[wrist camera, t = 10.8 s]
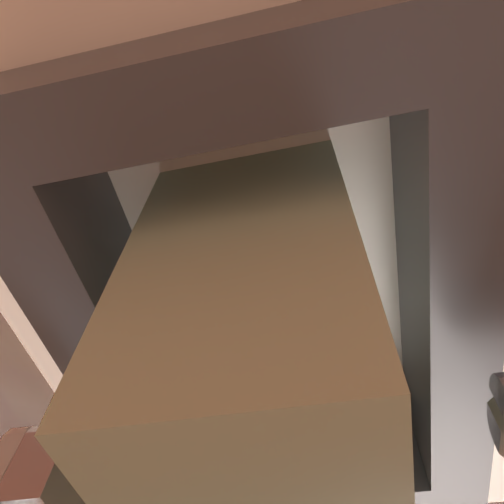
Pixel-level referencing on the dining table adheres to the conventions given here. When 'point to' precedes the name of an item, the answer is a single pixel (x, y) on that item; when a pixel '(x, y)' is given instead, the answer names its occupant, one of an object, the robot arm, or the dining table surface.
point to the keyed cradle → (264, 140)
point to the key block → (238, 350)
